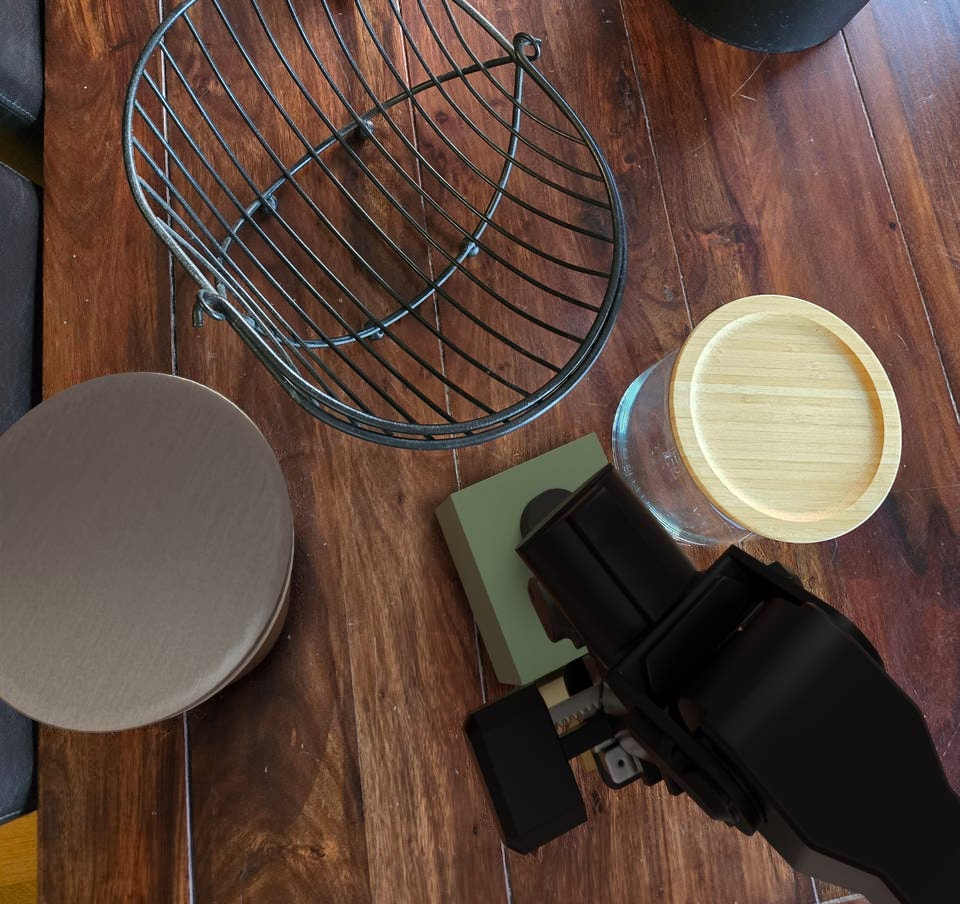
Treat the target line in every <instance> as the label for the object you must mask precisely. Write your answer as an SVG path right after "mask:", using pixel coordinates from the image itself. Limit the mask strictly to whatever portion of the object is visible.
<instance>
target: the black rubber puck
mask: <svg viewBox="0 0 960 904" xmlns="http://www.w3.org/2000/svg"><path fill="white" fill-rule="evenodd" d="M571 493H573V492H571V491H569V490H566V489H562V488H553V489H549V490H546V491H544V492H542V493H541V494H539V495H538V496H536V497H534V498H533V499H532V500H531V501H529V502H528V504H527V505H526V506H525V508H524V510H523V512H522V515H521V519H520V531H521V536H522V539H524V538H525V537H526V536H527V535H528V534H529V533H530V532H531V531H532V530H533V529H534V528H535V527H536V526H537V525H538V524H539V523H540V522H541V521H542V520H543V519H544V518H545V517H546V516H547V515H548V514H549V513H550V512H552V511H553V510H554V509H555V508H556V507H557V506H558V505H559V504H560V503H561V502H562V501H564V500H565V499H566V498H567V497H568V496H569V495H570V494H571Z"/></svg>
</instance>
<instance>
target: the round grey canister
mask: <svg viewBox="0 0 960 904" xmlns="http://www.w3.org/2000/svg"><path fill="white" fill-rule="evenodd" d="M284 475H285V474H284V473H283V469H282V467H281V465H280V462H279V460H278V458H277V455H276V453H275V451H274V449H273V447H272V446H271V444H270V442H269V440H268V439H267V437H266V436H265V434H264V433H263V432H262V430H261V429H260V428H259V426H258V425H257V423H256V422H254V421H253V419H252V418H251V417H250V416H249V415H248V414H247V413H246V412H245V411H244V410H243V409H242V408H241V407H239V406H238V405H237V404H236V403H235V402H234V401H232V400H231V399H229V398H228V397H226V396H225V395H223V394H222V393H221V392H218V391H216V390H215V389H213V388H211V387H209V386H208V385H205V384H203V383H201V382H198V381H196V380H193V379H190V378H186V377H183V376H180V375H176V374H171V373H164V372H156V371H125V372H117V373H111V374H106V375H102V376H98V377H95V378H91V379H88V380H85V381H82V382H79V383H75V384H74V385H71V386H70V387H67V388H64V389H63V390H61V391H58V392H57V393H55V394H53V395H52V396H50V397H49V398H46V399H45V400H43V401H41V402H40V403H38V404H37V405H36V406H35V407H33V408H31V409H30V410H29V411H27V412H26V413H25V414H24V415H23V416H21V417H20V418H19V419H18V420H17V421H16V422H14V423H13V424H12V425H11V426H10V427H9V428H8V429H7V430H6V431H5V432H4V433H3V434H2V435H1V436H0V700H1V701H3V702H4V703H5V704H7V706H9V707H10V708H12V709H13V710H15V711H16V712H18V713H20V714H22V715H23V716H25V717H27V718H29V719H30V720H33V721H35V722H38V723H41V724H43V725H45V726H49V727H52V728H56V729H60V730H63V731H70V732H75V733H83V734H106V733H108V734H109V733H117V732H125V731H130V730H134V729H135V730H136V729H139V728H143V727H146V726H150V725H153V724H156V723H160V722H163V721H166V720H168V719H171V718H174V717H176V716H179V715H181V714H183V713H185V712H187V711H190V710H192V709H194V708H195V707H197V706H199V705H201V704H202V703H204V702H205V701H207V700H209V699H211V698H212V697H213V696H214V695H216V694H217V693H219V692H220V691H222V690H224V689H225V688H227V687H229V686H230V685H232V684H234V683H236V682H237V681H240V679H242V678H244V677H245V676H247V675H248V674H249V673H251V672H252V671H253V670H255V669H256V668H257V667H258V666H259V665H260V664H261V663H262V662H263V661H264V660H265V659H266V657H267V656H269V654H270V652H271V650H273V648H274V646H275V645H276V643H277V641H278V639H279V638H280V636H281V633H282V632H283V629H284V627H285V624H286V621H287V616H288V613H289V610H290V609H289V608H290V601H291V587H292V586H291V583H292V582H291V581H292V570H293V565H294V563H293V562H294V555H295V554H294V552H295V530H294V529H295V528H294V519H293V512H292V506H291V500H290V495H289V491H288V490H289V489H288V485H287V482H286V478H285V476H284Z"/></svg>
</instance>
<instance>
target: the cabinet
mask: <svg viewBox="0 0 960 904" xmlns="http://www.w3.org/2000/svg"><path fill="white" fill-rule="evenodd" d="M608 463H609V460H608V459H607V456H606V453H605V451H604V448H603V447H602V445H601V443H600V440H599V438H598V436H597V433H596V432H595V431H593V432H591V433H589V434H586V435H584V436H582V437H579V438H577V439H575V440H573V441H569V442H568V443H565V444H563V445H561V446H559V447H556V448H555V449H552V450H549V451H547V452H545V453H542V454H541V455H538V456H536V457H534V458H531V459H528V460H527V461H524V462H522V463H519V464H517V465H515V466H512V467H511V468H508V469H506V470H504V471H502V472H499V473H497V474H494V475H492V476H490V477H488V478H486V479H483V480H481V481H478V482H476V483H474V484H472V485H469V486H467V487H464V488H463V489H460V490H458V491H456V492H453V493H451V494H449V495H448V496H447V498H445V499H444V500H443V502H441V504H439V505H438V506H437V507H436V509H435V510H434V513H435V515H436V518H437V521H438V524H439V526H440V528H441V531H442V534H443V536H444V539H445V542H446V544H447V545H446V546H447V547H448V550H449V552H450V555H451V558H452V561H453V563H454V566H455V568H456V571H457V573H458V577H459V579H460V582H461V585H462V588H463V590H464V592H465V596H466V598H467V601H468V604H469V606H470V608H471V611H472V614H473V616H474V620H475V622H476V625H477V627H478V630H479V633H480V635H481V638H482V641H483V643H484V646H485V649H486V651H487V655H488V657H489V660H490V663H491V664H492V665H491V666H492V668H493V670H494V673H495V676H496V678H497V681H498V682H499V683H501V684H508V685H515V686H518V685H521V686H522V685H524V684H527V683H529V682H532V681H534V680H536V679H538V678H540V677H542V676H544V675H546V674H548V673H550V672H552V671H554V670H556V669H558V668H560V667H562V666H564V665H566V664H568V663H569V662H570V661H572V660H574V659H576V658H578V657H580V656H582V655H584V654H586V653H588V650H587V648H586V646H584V647H583V648H581V649H579V650H577V649H576V648H575V646H574V645H573V643H572V641H571V640H570V639H567V638H566V639H563V640H561V641H559V642H557V643H553V642H551V641H550V640H549V638H548V637H547V634H546V632H545V630H544V628H543V626H542V624H541V622H540V620H539V617H538V615H537V613H536V611H535V609H534V607H533V605H532V602H531V600H530V597H529V594H528V590H527V589H528V581H529V578H531V577H533V576H534V575H533V573H532V572H531V571H530V570H529V568H528V567H527V566H526V564H525V563H524V562H523V561H522V559H521V558H520V557H519V555H518V554H517V553H516V551H515V550H514V549H515V548H516V546H517V545H518V544H519V543H520V542H521V541H522V540H523V539H522V536H521V531H520V519H521V515H522V512H523V510H524V508H525V506H526V505H527V504H528V502H529V501H531V500H532V499H533V498H534V497H536V496H538V495H539V494H541V493H542V492H544V491H546V490H549V489H553V488H562V489H566V490H569V491H571V492H574V491H575V490H576V489H577V488H578V487H579V486H581V485H582V484H583V483H584V482H585V481H586V480H588V479H589V478H590V477H591V476H592V475H594V474H595V473H596V472H597V471H599V470H600V469H601V468H602V467H604V466H605V465H607V464H608Z"/></svg>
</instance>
